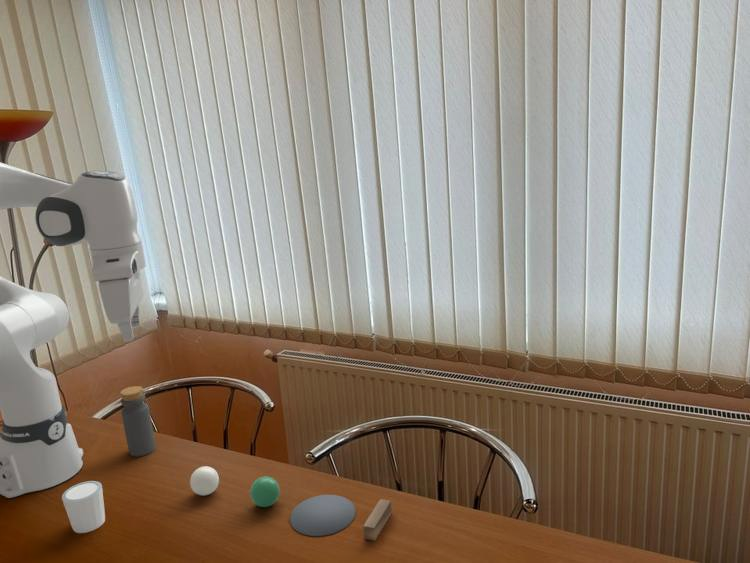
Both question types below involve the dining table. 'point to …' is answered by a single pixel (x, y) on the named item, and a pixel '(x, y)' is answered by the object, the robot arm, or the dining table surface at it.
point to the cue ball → (204, 480)
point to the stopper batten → (377, 519)
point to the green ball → (264, 491)
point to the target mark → (322, 515)
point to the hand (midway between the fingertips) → (132, 332)
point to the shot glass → (85, 506)
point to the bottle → (137, 422)
